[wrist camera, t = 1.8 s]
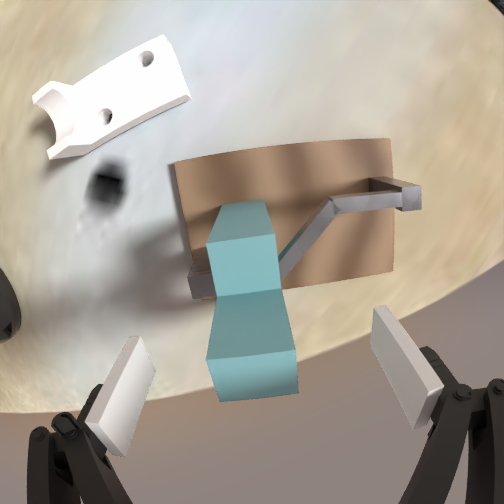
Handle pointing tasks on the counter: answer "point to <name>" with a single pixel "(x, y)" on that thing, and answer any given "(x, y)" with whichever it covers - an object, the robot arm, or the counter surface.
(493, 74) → the counter surface
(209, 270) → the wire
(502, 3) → the handheld game console
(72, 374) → the counter surface
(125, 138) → the counter surface
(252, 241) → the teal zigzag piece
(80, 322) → the counter surface
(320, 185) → the base board
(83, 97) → the bracket
